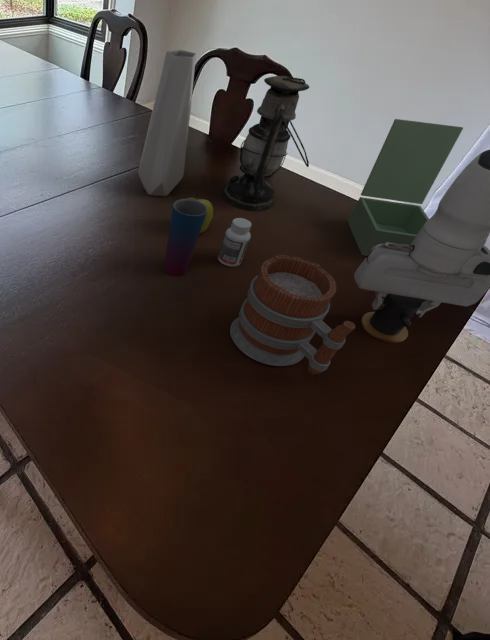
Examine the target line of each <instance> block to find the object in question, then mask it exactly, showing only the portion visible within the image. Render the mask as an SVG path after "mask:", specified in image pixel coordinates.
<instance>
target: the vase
mask: <svg viewBox="0 0 490 640" xmlns="http://www.w3.org/2000/svg"><path fill="white" fill-rule="evenodd" d="M196 57H197V54H196V53H195V52H193V51H188V50H183V49H172V50H167V51H166V52H165V56H164V59H163V63H162V68H161V71H160V77H159V80H158V85H157V89H156V93H155V98H154V102H153V107H152V111H151V115H150V119H149V124H148V128H147V132H146V137H145V141H144V145H143V149H142V153H141V159H140V162H139V167H138V171H137V175H138V177H139V180H140V181H139V182H140V183H141V186H142V188H143V190H144V191H145V192H146V194H147V195H149V196H152V197H154V196H155V197H167V196H169V195H170V193H171V192H172V191H173V190H174V189H175V187H177V185H178V184H179V183H180V182H181V180H182V179H183V177H184V174H185V169H186V168H185V167H186V157H187V148H188V138H189V128H190V121H191V120H190V119H191V109H192V99H193V90H194V89H193V88H194V81H195V80H194V79H195V70H196V69H195V68H196Z"/></svg>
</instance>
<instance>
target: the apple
mask: <svg viewBox="0 0 490 640" xmlns="http://www.w3.org/2000/svg"><path fill="white" fill-rule="evenodd" d="M195 194H196V198H194V197H188V198H187V199H193V200H197V201H199V202H201V203H203V204H204V205H206V207H207V209H208V211H207V214H206V217H205V220H204V223H203V225H202V228H201V231H200V234H201V233H203V232H205V231H206V230H207V229H208V227H209V226H210V224H211V222H212V219H213V217H214V206H213V204H212V203H211V202H210V201H209V200H208V199H205V198H199V197H198V193H195Z"/></svg>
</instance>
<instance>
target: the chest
mask: <svg viewBox="0 0 490 640" xmlns="http://www.w3.org/2000/svg"><path fill="white" fill-rule="evenodd" d="M428 219H430V217H429V216H428V215H427V213H426V212H425V210H424V209H423V208H422V206H421V205H419V204H413V203H406V202H404V203H403V202H399V201H392V200H385V199H378V198H371V197H364V196H360V197H359V198H358V200H357V202H356V203H355V205H354V207H353V209H352V210H351V213H350V215H349V216H348V218H347V220H346V221H347V223H348V226H349V228H350V231H351V233H352V236H353V238H354V241H355V243H356V245H357V247H358V250H359V252H360V254H361V256H366V257H367V255H368V253H369V252H370V250H371V249H372V247H374V246H376V245H378V244H383V243H385V242H393V243H396V244H407V245H410V244H411V243H412V241H413V240H414V238H415V237H416V235H417V234H418V232H419V231H420V230H421V228H422V227H423V225H424V224H425V222H426V221H427V220H428Z"/></svg>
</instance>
